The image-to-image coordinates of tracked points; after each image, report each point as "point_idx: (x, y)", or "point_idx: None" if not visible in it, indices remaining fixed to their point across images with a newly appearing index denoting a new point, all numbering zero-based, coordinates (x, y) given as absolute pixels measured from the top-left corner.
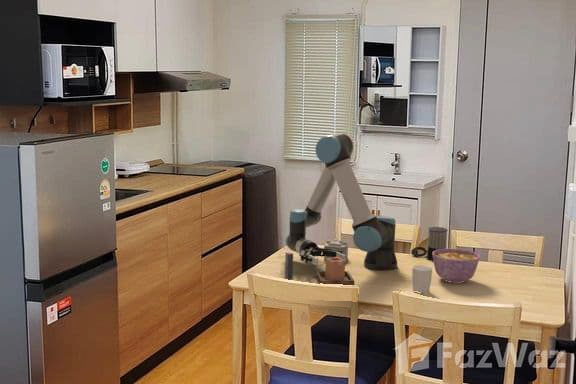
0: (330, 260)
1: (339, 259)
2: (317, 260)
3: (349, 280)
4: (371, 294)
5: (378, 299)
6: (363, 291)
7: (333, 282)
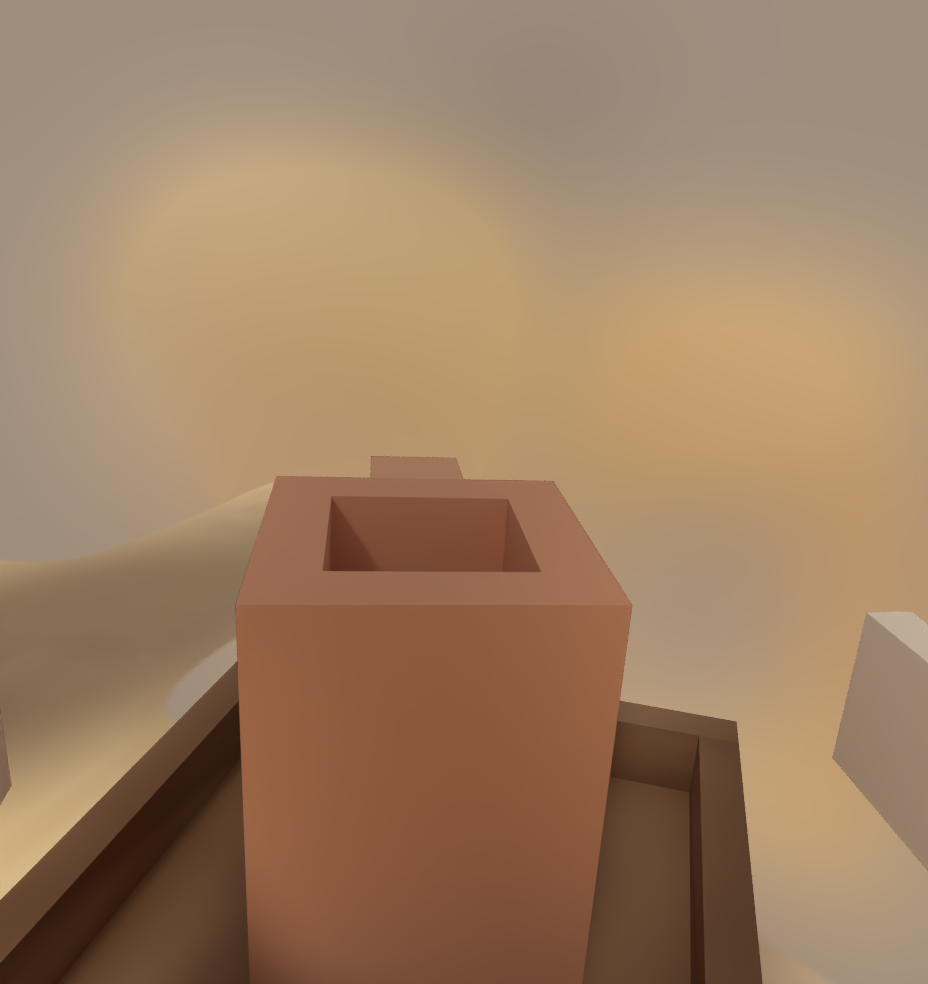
0: (569, 513)
1: (326, 534)
2: (859, 656)
3: None
4: None
5: None
6: None
7: None
